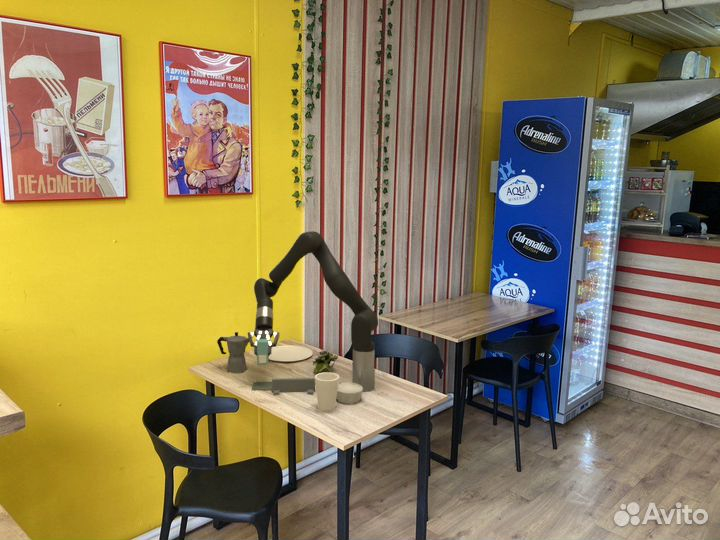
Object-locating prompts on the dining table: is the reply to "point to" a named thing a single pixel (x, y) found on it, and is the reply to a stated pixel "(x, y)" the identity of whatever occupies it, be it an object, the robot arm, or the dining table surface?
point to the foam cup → (326, 390)
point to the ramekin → (349, 393)
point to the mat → (262, 386)
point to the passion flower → (324, 361)
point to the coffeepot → (235, 352)
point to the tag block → (262, 352)
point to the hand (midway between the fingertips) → (262, 354)
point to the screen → (293, 385)
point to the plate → (289, 353)
